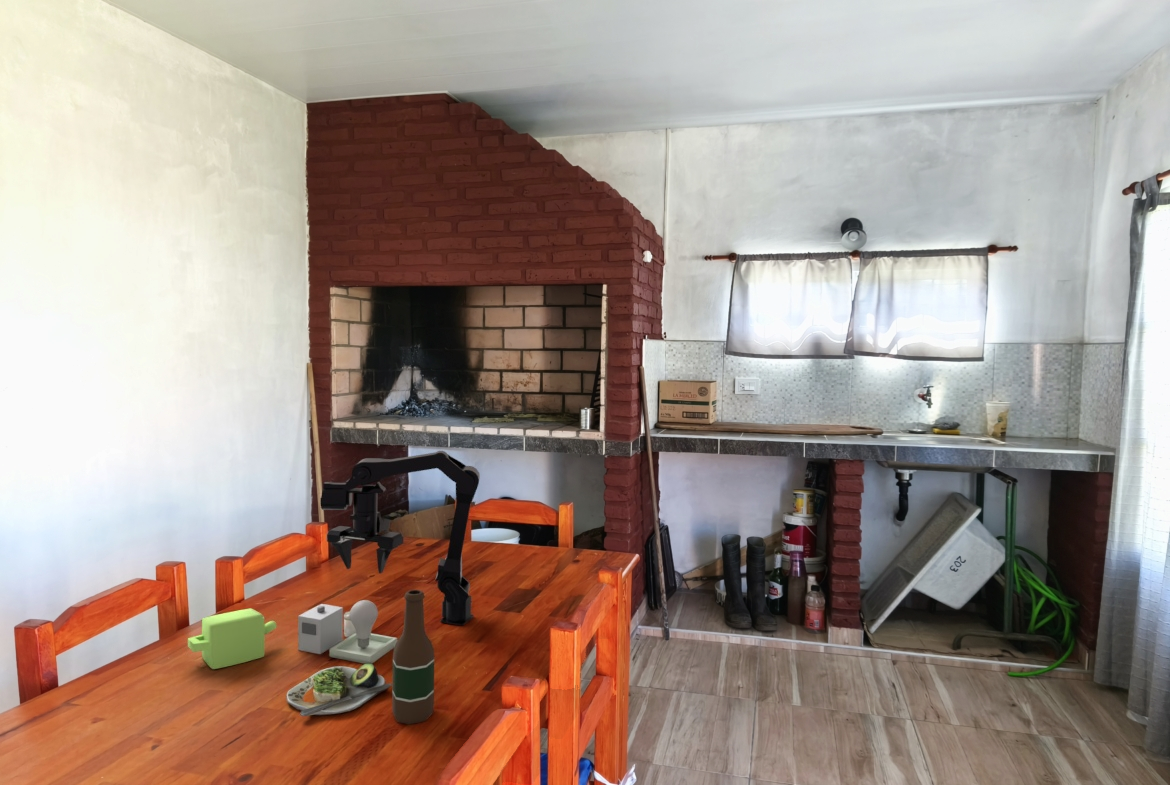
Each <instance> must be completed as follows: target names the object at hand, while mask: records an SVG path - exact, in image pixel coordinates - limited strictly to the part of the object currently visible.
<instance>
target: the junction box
mask: <svg viewBox="0 0 1170 785" xmlns="http://www.w3.org/2000/svg"><path fill="white" fill-rule="evenodd" d="M297 618H298V621H297V622H298V623H297V624H298V625H297V626H298V630H297V631H298V633H297V635H298V636H297V637H298V638H297V639H298V640H297V641H298V642H297V644H298V651H302V652H306V653H307V652H308V653H313V654H317V655H322V654H323V653H324V652H327V651H329V650H330V648H332V647H334V646H335V645H337V644H338V643H340V642H342V641H343V640H344V638H343V636H344V607H343V606H338V605H337V606H336V605H331V604H323V603H321V604H318V605H317V606H315V607H313V608H311V609H309V610H306V611H305V612H303V613H301V614H300V615H298V616H297Z"/></svg>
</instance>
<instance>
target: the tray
mask: <svg viewBox="0 0 1170 785" xmlns="http://www.w3.org/2000/svg"><path fill="white" fill-rule="evenodd" d="M397 641H398V637H393V636H388V635H383V634H377V633H372V632H371V636H370V640H369V645H368V646H367V647H366V648H364V649H362V648H361V647H359V646H358V639H357V637H356V633H355V634H353V635H351V636H350V637H346V638H345V639H343V641H341V642H339V643H338V644H336V645H335V646H333V647H331V648H330V649H329V658H335V659H340V660H343V661H350V662H355V663H361V664H363V665H364V664H368V663H369V664H373V663H375V662H376V661H378V660H379V659H380V658H382V657H383V656H385V655H386V654H387V653H389V652H391V651H392V650H394V648H395V645H396V642H397Z"/></svg>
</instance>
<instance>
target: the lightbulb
mask: <svg viewBox="0 0 1170 785" xmlns="http://www.w3.org/2000/svg"><path fill="white" fill-rule="evenodd" d="M349 611H350V620H351V622H352V624H353V625H354V627H355V630H356V637H357V639H358V646H359V647H361V648H362V649H364V648H366V647H367V646H368V645H369V640H370V636H371V633H372V630H373V626H374V625H375V622H376V620H377V619H378V615H379V614H378V613H379V612H378V608H377V606H376V604H375V603H374V602H372V601H370V600H368V599H363V600H359V601H356V603H354V604H353V606H352V607H351V608H350V610H349Z"/></svg>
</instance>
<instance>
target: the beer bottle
mask: <svg viewBox="0 0 1170 785" xmlns="http://www.w3.org/2000/svg"><path fill="white" fill-rule="evenodd" d="M425 598H426V597H425V593H424V592H423V590H421V589H411V590H408V591H407V592H405V594H404V599H405V607H404V608H405V609H404V618H403V619H404V621H403V622H404V623H403V630H402V634H401V635H400V637H399V638H397V642H396V645H395V647H394V648H393V652H392V689H391V690H392V700H391V703H392V715H393V716H394V719H395V720H396V722H397V723H401V724H406V725H410V726H411V725H414V724H420V723H423V722H425V721H426V720H427V719H429V717H431V715H433V714H434V713H433V712H434V704H435V702H434V701H435V700H434V699H435V698H434V697H435V695H434V694H435V651H434V650H435V649H434V646H433V643H432V641H431V639H430V638H429V637H428V635H427V633H426V629H425V628H426V627H425V614H424V613H425V612H424V599H425Z"/></svg>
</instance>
